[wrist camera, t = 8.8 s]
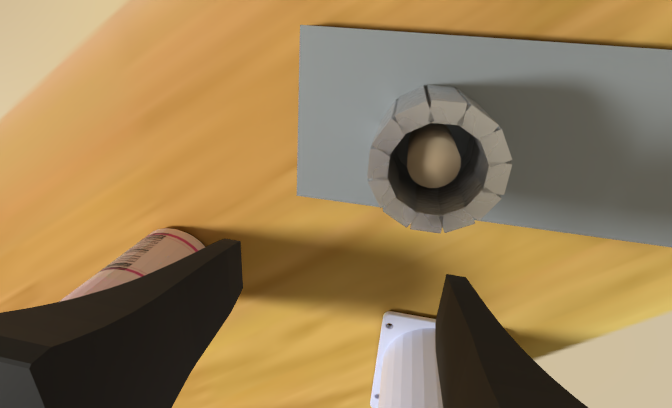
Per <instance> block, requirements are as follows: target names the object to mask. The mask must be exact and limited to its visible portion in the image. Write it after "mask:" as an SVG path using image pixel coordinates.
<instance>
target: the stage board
mask: <svg viewBox="0 0 672 408" xmlns="http://www.w3.org/2000/svg"><path fill="white" fill-rule="evenodd" d="M423 85H424V88H425V91H426V88H427V85H440V86H452V87H454V88H455V89H456V88H458V89H459V90H460V91H462V92H463V93H464V94H466V95H467V96H468V97H470V98H471V99H472V100H474V101H475V102H476V103H478V104H479V105H480V106H481V107H482V108H483V109H484V110H485V111H486V112H487V113H488V114H489V116H490V117H491V118H492V119H493V120H494V121H495V122H496V123H497V124H498V125H499V127H500V128H501V129H502V131H503V134H504V137H505V140H506V143H507V146H508V148H509V151H510V154H511V157H512V160H510V162H511V163H512V168H511V171H510V175H509V179H508V182H507V186H506V190H505V193H504V195H500V194H499V195H500V197H501V198H502V199H501V200H500V201H499V202H498V203H497V204H496V205H495V206H494V207H493V208H492V209H491V210H490V211H489V212H488V213H487V214H486V215H485V216H484V217H483V218H482V219H481V220H480V221H485V222H492V223H499V224H506V225H514V226H521V227H528V228H535V229H543V230H550V231H557V232H564V233H572V234H579V235H586V236H593V237H601V238H608V239H615V240H622V241H630V242H637V243H644V244H651V245H659V246H666V247H672V50H665V49H650V48H636V47H621V46H606V45H591V44H576V43H562V42H547V41H532V40H517V39H502V38H487V37H473V36H458V35H443V34H428V33H413V32H399V31H384V30H369V29H354V28H339V27H325V26H310V25H300V60H299V111H298V162H297V196H304V197H311V198H318V199H325V200H333V201H340V202H347V203H354V204H362V205H369V206H376V207H379V205H378V202H377V200H376V198H375V196H374V194H373V192H372V190H371V188H370V186H369V184H368V180H369V178H367V174H368V164H369V154H370V148H371V145H372V142H373V140H374V137H375V135H376V132H377V130H378V127H379V125H380V122H381V120H382V118H383V117H384V115H385V114H386V113H387V111H388V110H389V108H390V107H391V106H392V104H393V103H394V101H395V100H396V99H398V100H399V96H401V95H403V94H405V93H408V92H410V91H412V90H414V89H416V88H418V87H420V86H423ZM444 125H445V126H447V128H448V129H449V130H450V132H451V134H452V137H453V139H454V142H455V144H456V147H457V149H458V152H459V154H460V158H461V159H462V157H463V156H464V155H465V154H466V153H467V148H468V143H469V139H470V133H469V132H467V131H466V130H465V129H463V128H462V127H461V126H459V125H450V124H444ZM411 132H412V131H411ZM411 132H408V133H406V134H405V136H404V137H403V138H402V139H401V141H400V142H399V143H398V145H397V146H396V147H395V150H396V152H397V155H398V157H399V159H400V161H401V162H402V163H403V164H404V165H406V166H407V157H408V140H409V136H410V134H411ZM473 219H474V220H477V219H475V218H474V217H473ZM477 221H478V220H477Z"/></svg>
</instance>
